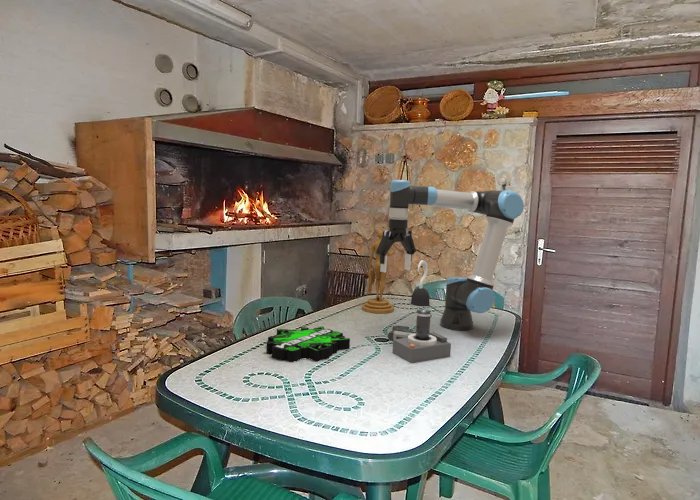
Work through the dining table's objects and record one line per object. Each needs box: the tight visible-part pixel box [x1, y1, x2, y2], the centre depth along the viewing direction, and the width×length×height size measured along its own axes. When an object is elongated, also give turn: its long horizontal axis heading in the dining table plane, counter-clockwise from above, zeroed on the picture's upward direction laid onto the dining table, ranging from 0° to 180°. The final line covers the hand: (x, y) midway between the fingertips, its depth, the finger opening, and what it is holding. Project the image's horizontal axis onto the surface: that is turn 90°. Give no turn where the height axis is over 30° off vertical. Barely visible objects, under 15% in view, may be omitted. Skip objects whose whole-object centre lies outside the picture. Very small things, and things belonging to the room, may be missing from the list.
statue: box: [361, 229, 395, 315], centre depth 242 cm, size 17×17×41 cm
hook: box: [410, 259, 430, 308], centre depth 257 cm, size 11×11×25 cm
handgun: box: [387, 325, 416, 341], centre depth 196 cm, size 4×22×15 cm
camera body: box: [392, 331, 452, 364], centre depth 177 cm, size 18×12×7 cm, turn 118°
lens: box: [415, 308, 432, 341], centre depth 175 cm, size 5×5×12 cm
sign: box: [265, 325, 351, 363], centre depth 180 cm, size 33×4×30 cm
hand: (395, 270), depth 192 cm, fingers open, 13 cm apart
